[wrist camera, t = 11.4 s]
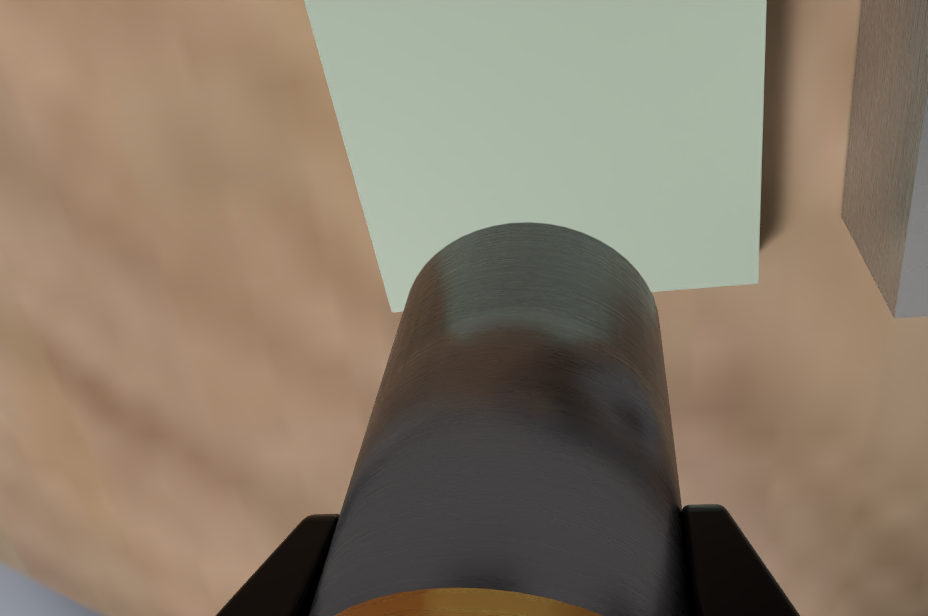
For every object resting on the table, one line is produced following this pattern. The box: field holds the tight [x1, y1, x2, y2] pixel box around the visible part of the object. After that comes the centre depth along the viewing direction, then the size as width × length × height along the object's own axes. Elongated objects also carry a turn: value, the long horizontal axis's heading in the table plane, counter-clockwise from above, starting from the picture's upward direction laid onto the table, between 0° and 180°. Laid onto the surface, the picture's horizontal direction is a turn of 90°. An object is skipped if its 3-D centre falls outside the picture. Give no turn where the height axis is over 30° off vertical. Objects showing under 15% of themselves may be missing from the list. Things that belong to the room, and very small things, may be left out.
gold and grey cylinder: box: [309, 222, 694, 616], centre depth 8 cm, size 4×4×9 cm
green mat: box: [304, 0, 767, 312], centre depth 18 cm, size 9×9×1 cm
